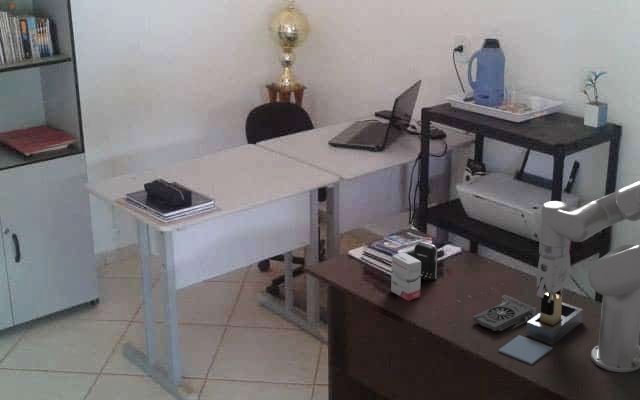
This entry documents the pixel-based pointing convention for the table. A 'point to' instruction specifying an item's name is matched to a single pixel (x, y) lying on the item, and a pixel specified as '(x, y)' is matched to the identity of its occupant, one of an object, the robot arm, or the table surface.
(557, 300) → the brass peg
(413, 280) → the ink box
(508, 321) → the graphics card
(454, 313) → the table surface
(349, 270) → the table surface
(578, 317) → the cinder block
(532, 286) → the table surface
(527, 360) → the mat
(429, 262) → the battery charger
